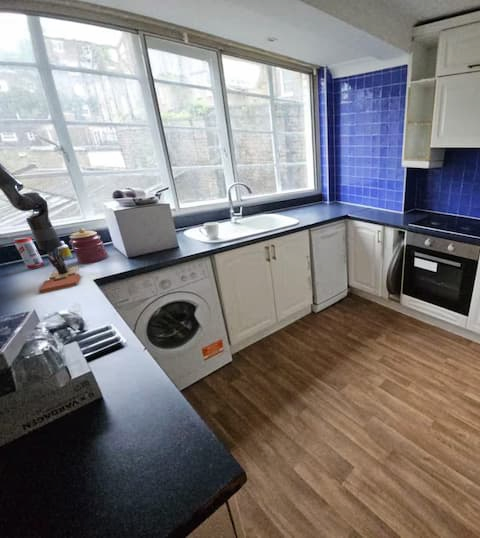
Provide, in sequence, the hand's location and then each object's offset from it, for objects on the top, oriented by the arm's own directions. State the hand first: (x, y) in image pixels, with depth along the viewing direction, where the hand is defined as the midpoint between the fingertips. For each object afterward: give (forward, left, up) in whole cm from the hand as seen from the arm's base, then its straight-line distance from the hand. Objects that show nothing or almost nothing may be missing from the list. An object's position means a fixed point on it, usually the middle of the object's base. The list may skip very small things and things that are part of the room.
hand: (63, 271), depth 141 cm
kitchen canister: (+9, +22, -3) cm, 24 cm away
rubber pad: (0, -11, -2) cm, 11 cm away
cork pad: (0, -2, -2) cm, 2 cm away
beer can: (-15, +28, -3) cm, 32 cm away
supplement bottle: (-4, +35, -3) cm, 36 cm away
